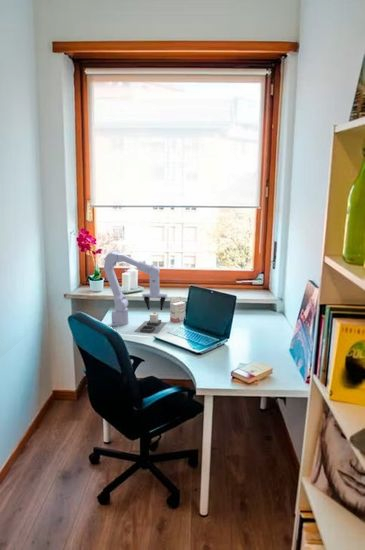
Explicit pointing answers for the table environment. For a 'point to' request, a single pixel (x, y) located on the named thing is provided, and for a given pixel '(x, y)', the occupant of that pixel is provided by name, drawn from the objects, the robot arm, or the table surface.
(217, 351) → the table surface
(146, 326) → the panel
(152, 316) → the plug
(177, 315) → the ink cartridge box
